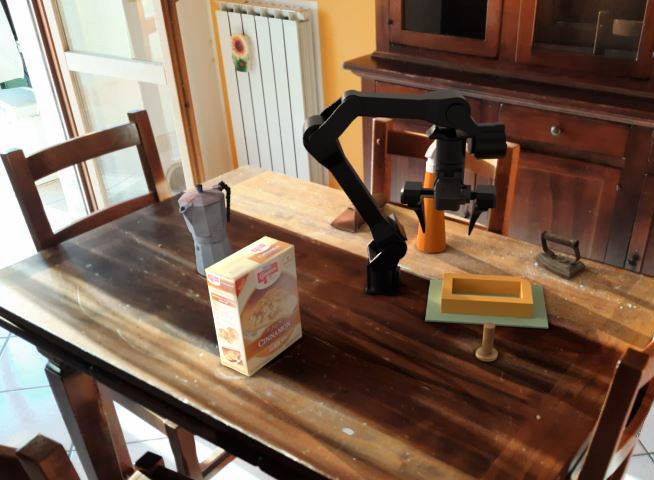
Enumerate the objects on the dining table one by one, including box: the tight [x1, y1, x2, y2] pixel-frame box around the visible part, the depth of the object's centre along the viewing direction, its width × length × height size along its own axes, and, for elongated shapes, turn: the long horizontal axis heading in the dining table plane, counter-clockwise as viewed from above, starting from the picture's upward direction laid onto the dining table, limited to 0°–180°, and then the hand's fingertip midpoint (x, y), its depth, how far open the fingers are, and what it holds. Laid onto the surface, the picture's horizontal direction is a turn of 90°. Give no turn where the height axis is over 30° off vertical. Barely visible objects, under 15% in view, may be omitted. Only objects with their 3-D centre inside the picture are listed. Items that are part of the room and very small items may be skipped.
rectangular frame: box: [441, 272, 533, 318], centre depth 133 cm, size 18×10×3 cm, turn 84°
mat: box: [424, 279, 549, 330], centre depth 134 cm, size 24×16×1 cm, turn 84°
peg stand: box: [475, 322, 499, 363], centre depth 118 cm, size 4×4×7 cm
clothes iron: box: [535, 230, 587, 280], centre depth 146 cm, size 7×11×10 cm, turn 47°
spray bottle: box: [416, 139, 447, 254], centre depth 150 cm, size 7×11×26 cm, turn 148°
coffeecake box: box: [205, 235, 303, 377], centre depth 115 cm, size 15×7×20 cm, turn 148°
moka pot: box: [177, 180, 235, 277], centre depth 141 cm, size 10×15×20 cm, turn 158°
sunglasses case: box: [329, 192, 388, 233], centre depth 169 cm, size 18×7×7 cm
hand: (446, 233), depth 134 cm, fingers open, 9 cm apart
